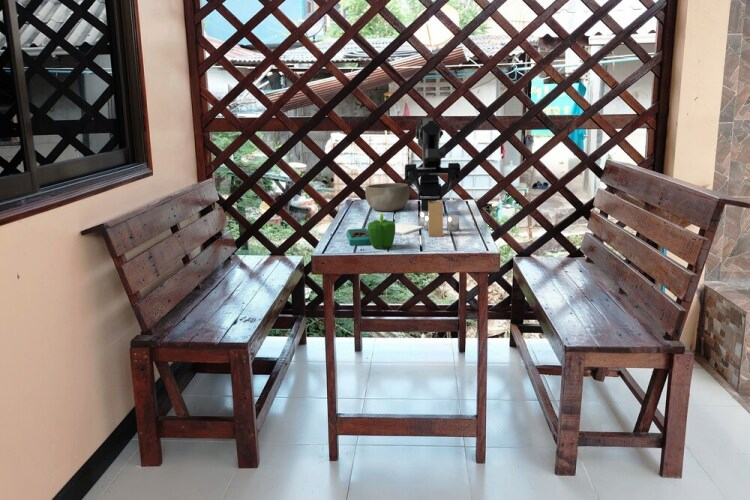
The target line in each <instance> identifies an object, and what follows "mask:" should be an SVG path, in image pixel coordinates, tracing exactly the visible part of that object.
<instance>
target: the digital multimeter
mask: <svg viewBox="0 0 750 500" xmlns="http://www.w3.org/2000/svg"><path fill="white" fill-rule="evenodd" d="M345 234H346V237H347V240H348V243H349V246H355V247H356V246H372V244H371V242H370V239H369V235H368V228H352V229H351V228H350V229H347V230H346V233H345Z"/></svg>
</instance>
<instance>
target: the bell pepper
mask: <svg viewBox="0 0 750 500" xmlns="http://www.w3.org/2000/svg"><path fill="white" fill-rule="evenodd" d="M367 229H368V235H369V239H370V242H371V246H372V248H375V249H382V248H384V249H387V248H389V249H390V248H392V246H393V244H394V242H395V241H394V240H395V237H396V233H395V221H392V220H387V219H384V214H383V213H380V215H379V220H378V219H374V220H372V221H371V222H368V225H367Z"/></svg>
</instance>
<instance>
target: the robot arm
mask: <svg viewBox="0 0 750 500" xmlns="http://www.w3.org/2000/svg"><path fill="white" fill-rule="evenodd" d="M442 136H444V131H443V130H442V128H441V127H440V125H439V124H438V123H437V122H435V117H432V116H422V117H420V121H419V122H418V123H417V124H416V125H415V139H416V140H417V145H418V146H419V147H420V149H421V152H422V167H417V163H407V164H405V165H404V180H406V181H408V182H410V183H412V184H413V185H414V186H415V188H416V190H417V200H418V201H419V202H420V201H421V205H420V208H421V209H420V211H428V201H442V200H443V189H444V188H443V187H442V184H441V183H440V181H439V180H440V179H439V175H447V178H446V179H447V180H446V187H445V188H446V193H447V192H449V190H450V187H451V185H452V183H453V181H456V180H459V178H460V176H461V164H460V163H459V162H448V163H447V167H441V164H442V159H446V156H447V154H446V153H447V152H446V147H445V146H443V147H440V145H439V144H440V140H441V138H442ZM419 175H420V178H419ZM417 216H418V217H420V213H418V215H417Z"/></svg>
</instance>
